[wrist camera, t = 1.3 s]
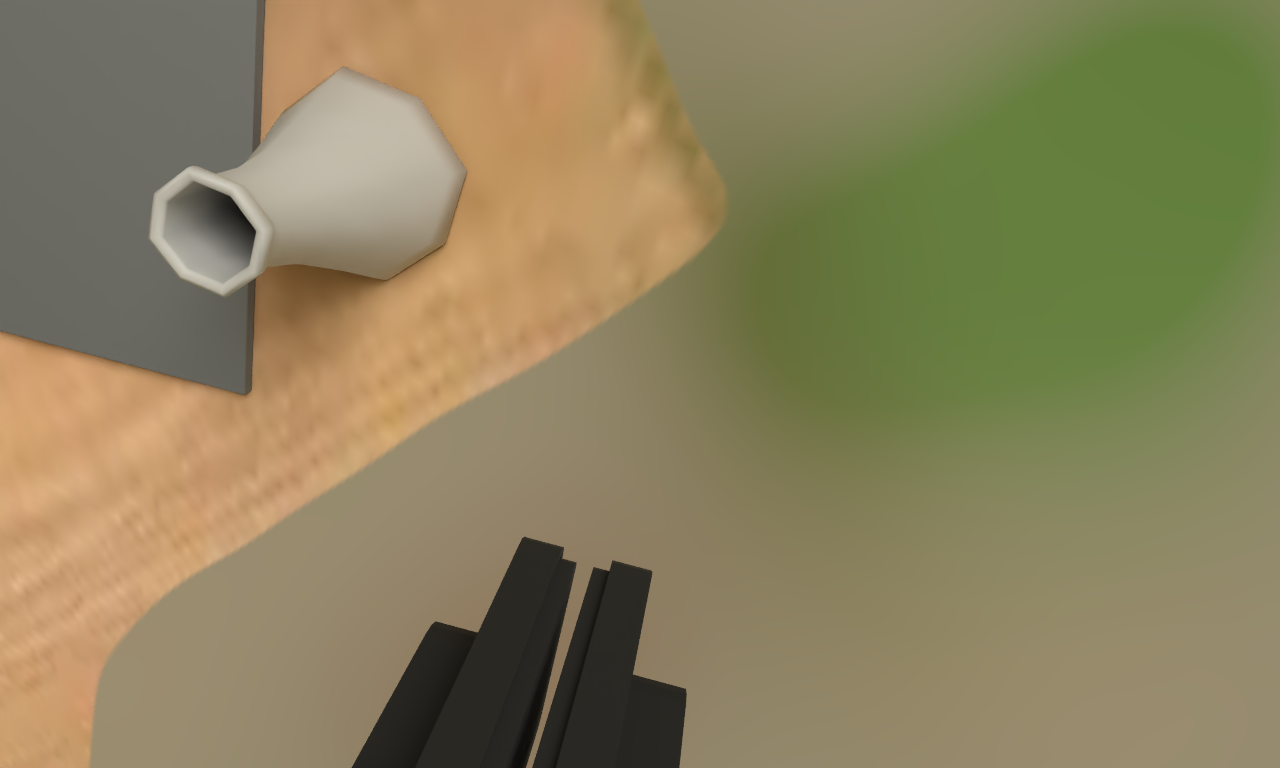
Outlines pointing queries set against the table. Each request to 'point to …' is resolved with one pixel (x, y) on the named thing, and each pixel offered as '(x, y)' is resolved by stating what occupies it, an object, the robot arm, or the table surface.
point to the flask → (317, 192)
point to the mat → (122, 174)
